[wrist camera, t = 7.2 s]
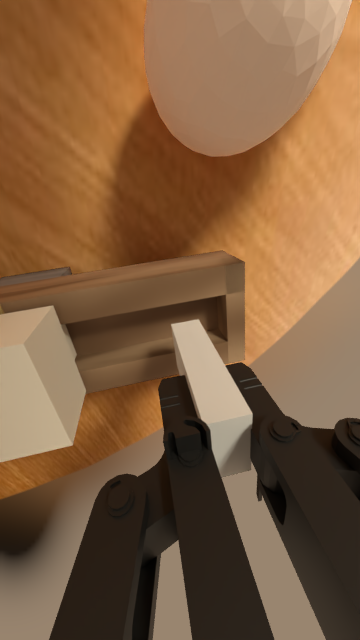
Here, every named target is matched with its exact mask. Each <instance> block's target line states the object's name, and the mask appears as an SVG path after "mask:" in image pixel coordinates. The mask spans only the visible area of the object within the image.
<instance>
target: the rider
mask: <svg viewBox="0 0 360 640" xmlns="http://www.w3.org/2000/svg"><path fill="white" fill-rule="evenodd" d="M76 355H77V354H76V351H75V349H74V346H73V343H72V341H71V338H70V335H69V333H68V330H67V327H66V325H65V324H62V325H61V324H60V322H59V319H58V317H57V314H56V311H55V309H54V306H53V305H52V306H47V307H41V308H35V309H29V310H24V311H18V312H12V313H6V314H1V315H0V462H4V461H8V460H13V459H17V458H21V457H26V456H30V455H34V454H38V453H43V452H47V451H51V450H55V449H60V448H64V447H68V446H73V442H74V438H75V434H76V430H77V426H78V422H79V418H80V414H81V409H82V405H83V401H84V397H85V393H86V389H85V386H84V384H83V381H82V379H81V376H80V373H79V371H78V368H77V366H76V363H75V358H76Z"/></svg>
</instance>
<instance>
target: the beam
mask: <svg viewBox="0 0 360 640" xmlns="http://www.w3.org/2000/svg"><path fill="white" fill-rule="evenodd" d="M52 305H53V306H54V309H55V311H56V314H57V317H58V319H59V322H60V324H61V325H62V324H65V325H66V327H67V330H68V333H69V335H70V338H71V341H72V343H73V346H74V349H75V351H76V354H77V355H76V358H75V363H76V366H77V368H78V371H79V373H80V376H81V379H82V381H83V384H84V386H85V389H86V393H85V394H88V393H92V392H97V391H102V390H106V389H111V388H116V387H120V386H125V385H130V384H135V383H139V382H144V381H149V380H153V379H158V378H163V377H167V376H172V375H177V374H179V370H178V367H177V361H176V354H175V347H174V341H173V334H172V327H171V324H175V323H181V322H186V321H191V320H197V319H199V321H200V323H201V324H202V326H203V328H204V330H205V331H206V333H207V335H208V337H209V338H210V340H211V342H212V344H213V345H214V347H215V349H216V351H217V352H218V354H219V356H220V358H221V359H222V361H223V363H224V364H228V363H233V362H238V361H242V360H245V262H244V261H242V260H240V259H238V258H236V257H234V256H232V255H230V254H228V253H226V252H224V251H216V252H209V253H203V254H197V255H191V256H185V257H179V258H172V259H166V260H160V261H154V262H148V263H142V264H135V265H129V266H123V267H117V268H111V269H104V270H98V271H92V272H86V273H80V274H74V275H72V273H71V269H70V267H64V268H58V269H52V270H46V271H39V272H33V273H27V274H20V275H14V276H8V277H2V278H1V279H0V315H1V314H6V313H12V312H18V311H24V310H29V309H35V308H41V307H47V306H52Z"/></svg>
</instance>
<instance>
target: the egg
mask: <svg viewBox="0 0 360 640" xmlns="http://www.w3.org/2000/svg"><path fill="white" fill-rule="evenodd" d="M351 2H352V0H147V7H146V15H145V23H144V60H145V70H146V76H147V81H148V86H149V91H150V93H151V96H152V99H153V101H154V104H155V106H156V109H157V111H158V114H159V116H160V118H161V119H162V121H163V122H164V124H165V125H166V127H167V128H168V130H169V131H170V133H171V134H172V135H173V136H174V137H175V138H176V139H178V140H179V141H180V142H181V143H182V144H183V145H185V146H186V147H188V148H189V149H191V150H192V151H194V152H198V153H201V154H204V155H207V156H211V157H216V156H231V155H235V154H239V153H243V152H245V151H247V150H249V149H250V148H252V147H254V146H256V145H258V144H260V143H262V142H263V141H265V140H266V139H268V138H269V137H270V136H272V135H273V134H274V133H275V132H277V131H278V130H279V129H280V128H281V127H282V126H283V125H284V124H285V123H286V122H287V121H288V120H289V119H290V118H291V117H292V116H293V115H294V114H295V113H296V112H297V111H298V110H299V108H300V107H301V106H302V104H303V103H304V101H305V100H306V98H307V97H308V95H309V94H310V93H311V91H312V90H313V88H314V86H315V85H316V83H317V81H318V79H319V78H320V76H321V74H322V72H323V70H324V69H325V67H326V65H327V63H328V62H329V59H330V57H331V55H332V53H333V51H334V49H335V47H336V44H337V42H338V40H339V38H340V36H341V34H342V30H343V27H344V24H345V21H346V18H347V15H348V12H349V9H350V6H351Z"/></svg>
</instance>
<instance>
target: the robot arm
mask: <svg viewBox="0 0 360 640" xmlns="http://www.w3.org/2000/svg"><path fill="white" fill-rule="evenodd" d="M171 327H172V334H173V341H174V347H175V354H176V361H177V367H178V370H179V374H180V376H177V377H172V378H167V379H163V380H162V381H161V383H160V386H159V388H158V391H159V398H160V405H161V412H162V419H163V426H164V437H163V443H164V447H165V451H164V454H163V456H162V458H161V459H160V460H159V462H158V463H157V464H156V465H155V466H153V467H152V468H151V469H150V470H148V471H147V472H145V473H143V474H142V475H140V476H138V477H137V476H135V475H131V474H123V475H118V476H116V477H114V478H113V479H111V480H109V481H108V482H107V483H106V484H105V485H104V486H103V487H102V489H101V490H100V492H99V494H98V496H97V498H96V500H95V502H94V506H93V509H92V512H91V515H90V518H89V521H88V524H87V527H86V530H85V533H84V536H83V539H82V542H81V545H80V548H79V551H78V554H77V557H76V560H75V563H74V566H73V569H72V572H71V575H70V578H69V581H68V584H67V587H66V590H65V593H64V596H63V599H62V602H61V605H60V608H59V611H58V614H57V617H56V620H55V624H54V626H53V629H52V632H51V636H50V639H49V640H152V638H153V629H154V619H155V609H156V599H157V588H158V578H159V567H160V558H161V553H162V552H163V551H164V550H166V549H167V548H168V547H170V546H171V545H172V544H173V543H175V542H176V541H177V540H179V547H180V554H181V562H182V569H183V575H184V583H185V590H186V597H187V605H188V612H189V618H190V626H191V633H192V640H274V637H273V634H272V631H271V628H270V625H269V622H268V619H267V616H266V613H265V610H264V607H263V604H262V600H261V597H260V594H259V591H258V588H257V585H256V582H255V579H254V576H253V573H252V570H251V567H250V564H249V561H248V558H247V555H246V552H245V548H244V546H243V542H242V540H241V536H240V533H239V530H238V527H237V524H236V521H235V518H234V515H233V512H232V509H231V506H230V503H229V500H228V497H227V494H226V491H225V487H224V484H223V482H222V479H221V478H222V477H226V476H230V475H234V474H238V473H241V472H245V471H249V470H251V461H252V463H253V465H254V467H255V469H256V472H257V498H258V501H261V500H262V496H263V498H264V500H265V503H266V505H267V507H268V509H269V512H270V514H271V516H272V518H273V521H274V523H275V525H276V528H277V530H278V532H279V534H280V537H281V539H282V541H283V543H284V546H285V548H286V550H287V552H288V555H289V557H290V559H291V561H292V564H293V566H294V568H295V570H296V573H297V575H298V577H299V579H300V582H301V584H302V586H303V588H304V591H305V593H306V595H307V598H308V600H309V602H310V604H311V607H312V609H313V611H314V613H315V616H316V618H317V620H318V622H319V625H320V627H321V629H322V631H323V634H324V636H325V638H326V640H360V419H357V418H345V419H342V420H339V421H338V422H337V424H336V425H335V428H334V429H322V428H321V429H320V428H310V427H304V426H301V425H300V424H299V423H298V422H297V421H296V420H294V419H292V418H290V417H288V416H285V415H284V414H283V413H282V411H281V410H280V409H279V407H278V406H277V404H276V403H275V402H274V400H273V399H272V398H271V396H270V395H269V393H268V392H267V391H266V389H265V388H264V386H262V383H261V382H260V381H259V379H257V377H256V375H255V374H254V372H253V371H252V370H251V368H249V367H248V366H246V365H245V364H243V363H241V362H240V363H235V364H231V365H226V366H225V365H224V363H223V361H222V359H221V358H220V356H219V354H218V352H217V351H216V349H215V347H214V345H213V344H212V342H211V340H210V338H209V337H208V335H207V333H206V331H205V330H204V328H203V326H202V324H201V323H200V321H199V319H197V320H191V321H186V322H181V323H175V324H171Z"/></svg>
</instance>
